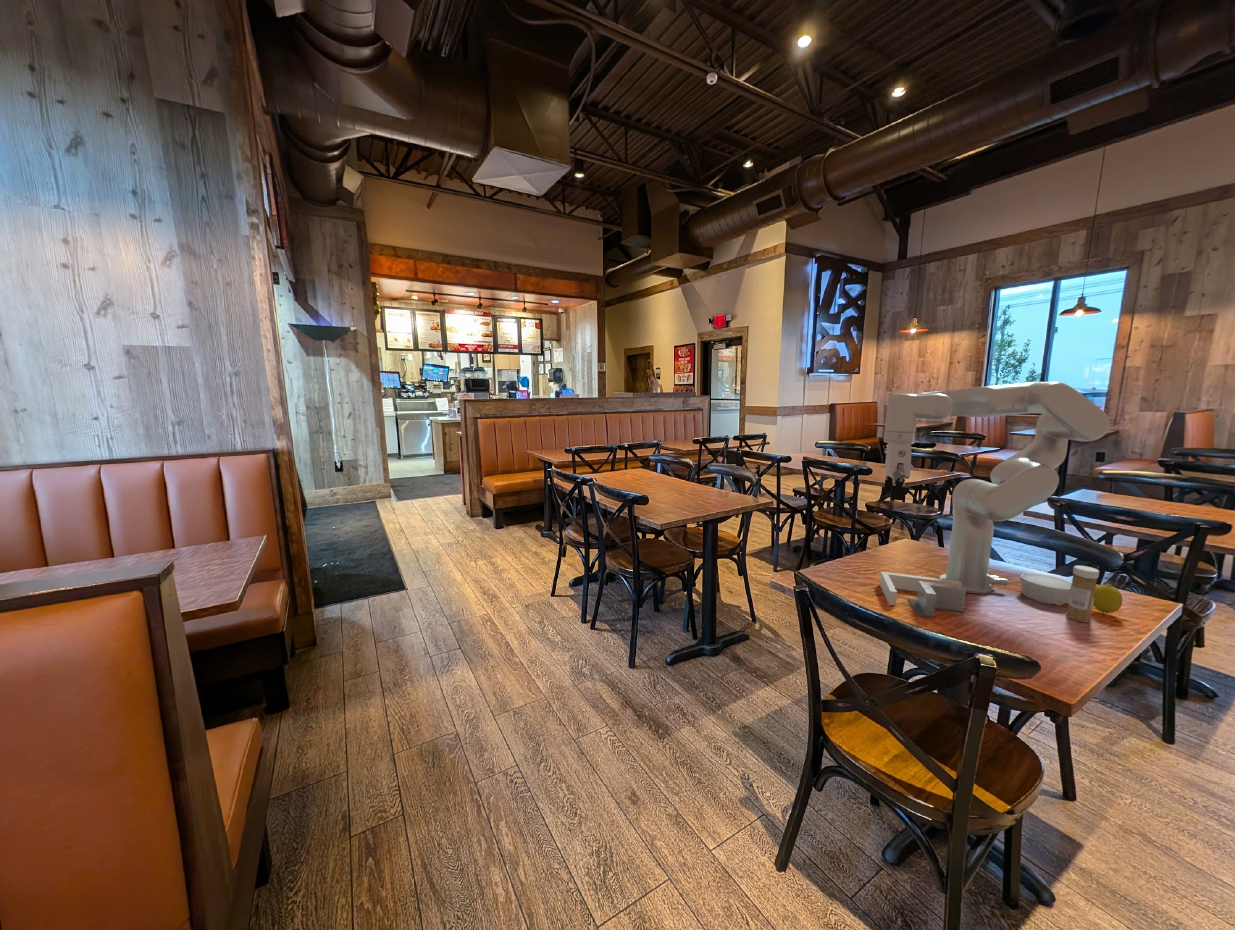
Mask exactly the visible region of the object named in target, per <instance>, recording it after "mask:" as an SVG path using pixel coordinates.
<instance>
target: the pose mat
mask: <svg viewBox="0 0 1235 930" xmlns="http://www.w3.org/2000/svg"><path fill="white" fill-rule="evenodd" d="M907 600H908V602H909V605H910V606H911V608H912V609H913V612H914V613H915V615H916V616H917V617H924V618H929V619H930V618H931V619H936V616H935V615H934V616H926V615H924V614H923V612H922V611H921V609H920V607H919V605H918V604H917V598H915V599H913V598H907ZM934 610H939V611H946V612H952V613H960V614H965V613H966V611H965V609H963V611H956V610H949V609H942V608H934Z"/></svg>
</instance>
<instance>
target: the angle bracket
mask: <svg viewBox="0 0 1235 930" xmlns="http://www.w3.org/2000/svg"><path fill="white" fill-rule="evenodd" d="M966 593H967V592H966V589H965V588H964V587H962V586H954V585H947V584H939V583H931V582H923V581H919V586H918V591H917V594H916V595H917V596H916V600H917V604H918V605H919V607H920V609H921V611H922V612H923V614H924V615H926V616H935V609H934V608H942V609H949V610H956V611H963V610H964V607H965V600H966Z"/></svg>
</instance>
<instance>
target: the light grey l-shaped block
mask: <svg viewBox="0 0 1235 930" xmlns="http://www.w3.org/2000/svg"><path fill="white" fill-rule="evenodd" d="M919 581H923V582H931V583H939V584H947V585H954V586H961V585H962V583H961V582H960V581H953V580H945V579H939V578H935V577H927V576H920V575H910V574H905V573H904V574H903V573H897V572H896V573H894V572H887V571H880V576H879V586H880V588H882V589H881V591H882V593H883V596H884V595H885V596H884V598H885V599H887V600H886V602H887V601H888V602H887V604H888V603H889V604H892V605H895V606H894V607H897V600H898V599H897V597H898V591H897V590H904V591H911V592H918V586H919ZM895 588H896V589H895ZM889 604H888V605H889Z"/></svg>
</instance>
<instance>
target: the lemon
mask: <svg viewBox="0 0 1235 930" xmlns="http://www.w3.org/2000/svg"><path fill="white" fill-rule="evenodd" d="M1122 605H1123V595H1122V593H1121V592H1120V590H1119V589H1118V588H1117V587H1114V586H1113V585H1112V584H1109V583H1108V584H1101V585H1098V586H1096V588H1095V594H1094V602H1093V607H1094V608H1095V609H1096V610H1098V611H1100V612H1101V613H1102V612H1105V613H1107V614H1108V613H1109V614H1110V613H1115V612H1117V611H1119V610H1120V609H1121V607H1122Z"/></svg>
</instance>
